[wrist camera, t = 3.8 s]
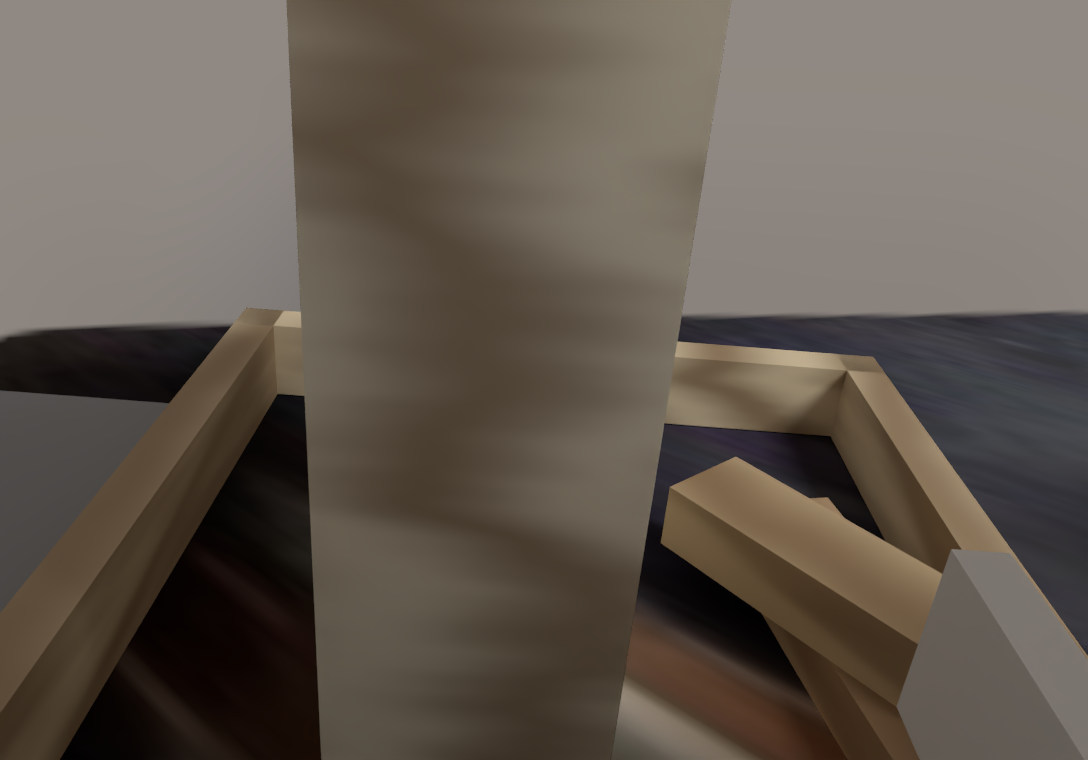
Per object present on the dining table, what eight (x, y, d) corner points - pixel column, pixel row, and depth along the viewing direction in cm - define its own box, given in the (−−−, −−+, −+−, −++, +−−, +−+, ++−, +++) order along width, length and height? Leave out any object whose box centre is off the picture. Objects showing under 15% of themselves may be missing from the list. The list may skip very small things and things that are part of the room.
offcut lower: (813, 551, 31) (827, 497, 30) (1022, 839, 22) (1052, 774, 21) (717, 557, 30) (728, 502, 29) (889, 858, 21) (913, 792, 20)
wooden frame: (856, 420, 38) (873, 356, 37) (1245, 1078, 17) (1321, 982, 15) (251, 374, 38) (246, 307, 37) (-168, 991, 16) (-218, 883, 15)
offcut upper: (725, 510, 29) (736, 456, 28) (1000, 682, 23) (1025, 621, 22) (660, 543, 27) (670, 487, 26) (941, 738, 21) (965, 674, 20)
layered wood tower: (586, 555, 29) (664, -76, 21) (597, 840, 20) (743, -72, 12) (397, 542, 29) (401, -99, 21) (323, 822, 20) (281, -113, 12)
